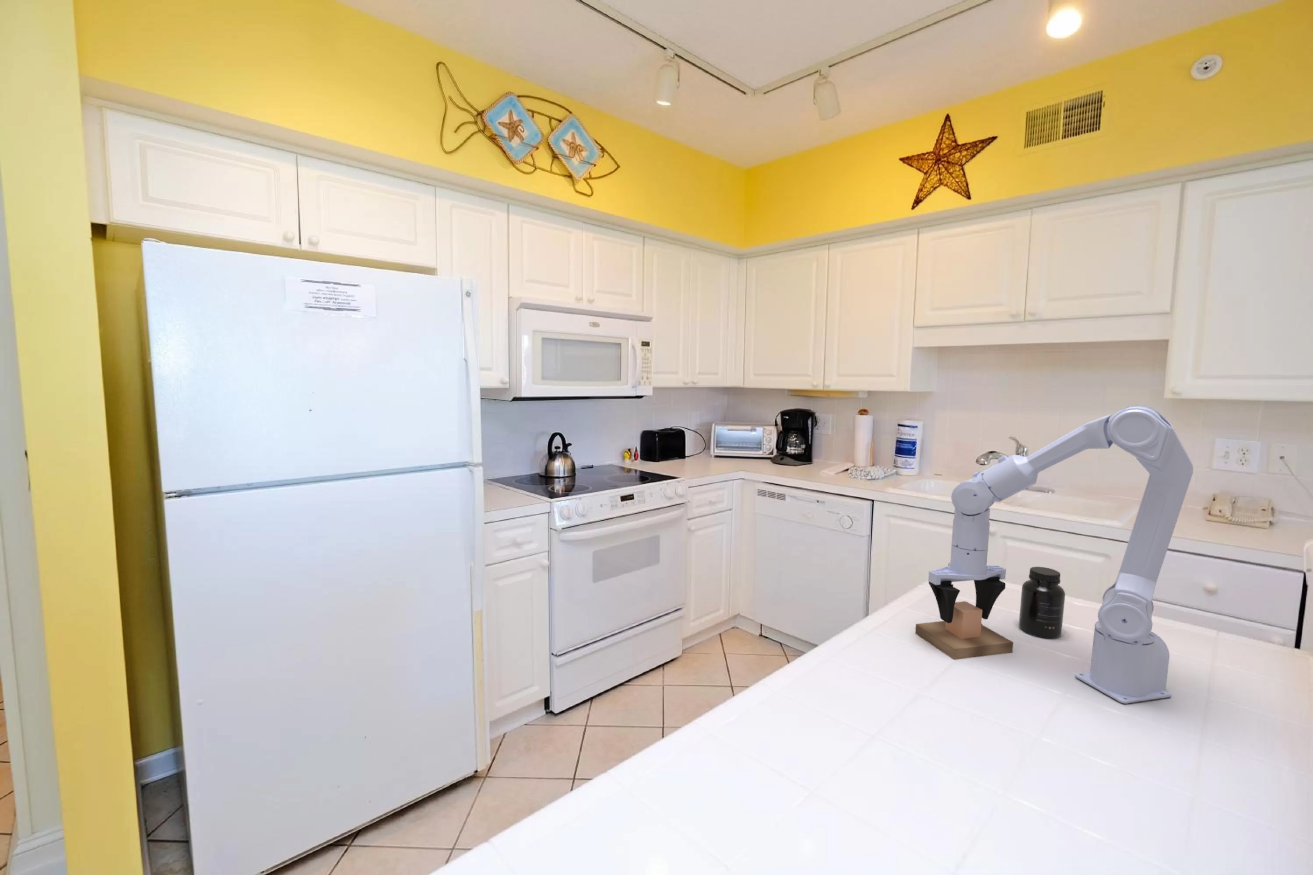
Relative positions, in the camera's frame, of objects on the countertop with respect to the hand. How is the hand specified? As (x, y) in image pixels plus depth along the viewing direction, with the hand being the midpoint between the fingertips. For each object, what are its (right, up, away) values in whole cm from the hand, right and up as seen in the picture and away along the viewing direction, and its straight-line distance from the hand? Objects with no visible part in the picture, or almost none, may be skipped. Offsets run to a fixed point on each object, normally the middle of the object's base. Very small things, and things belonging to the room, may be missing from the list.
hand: (964, 618), depth 104 cm
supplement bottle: (+17, -4, +5) cm, 19 cm away
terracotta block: (0, -3, 0) cm, 3 cm away
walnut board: (0, -5, +1) cm, 5 cm away
